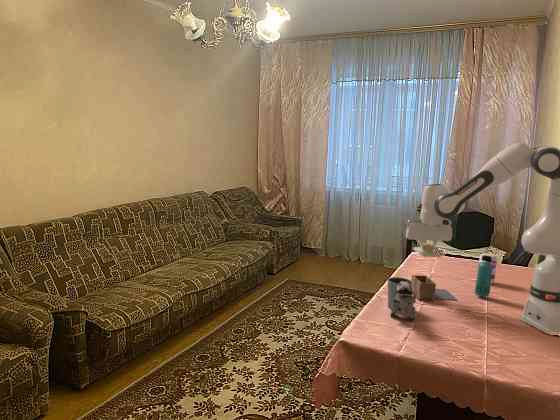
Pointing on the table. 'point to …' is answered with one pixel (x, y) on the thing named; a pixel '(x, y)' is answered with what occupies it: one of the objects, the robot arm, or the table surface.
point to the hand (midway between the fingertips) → (427, 249)
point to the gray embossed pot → (394, 288)
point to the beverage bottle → (484, 277)
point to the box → (423, 287)
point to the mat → (443, 295)
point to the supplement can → (493, 262)
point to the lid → (427, 251)
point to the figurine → (404, 301)
